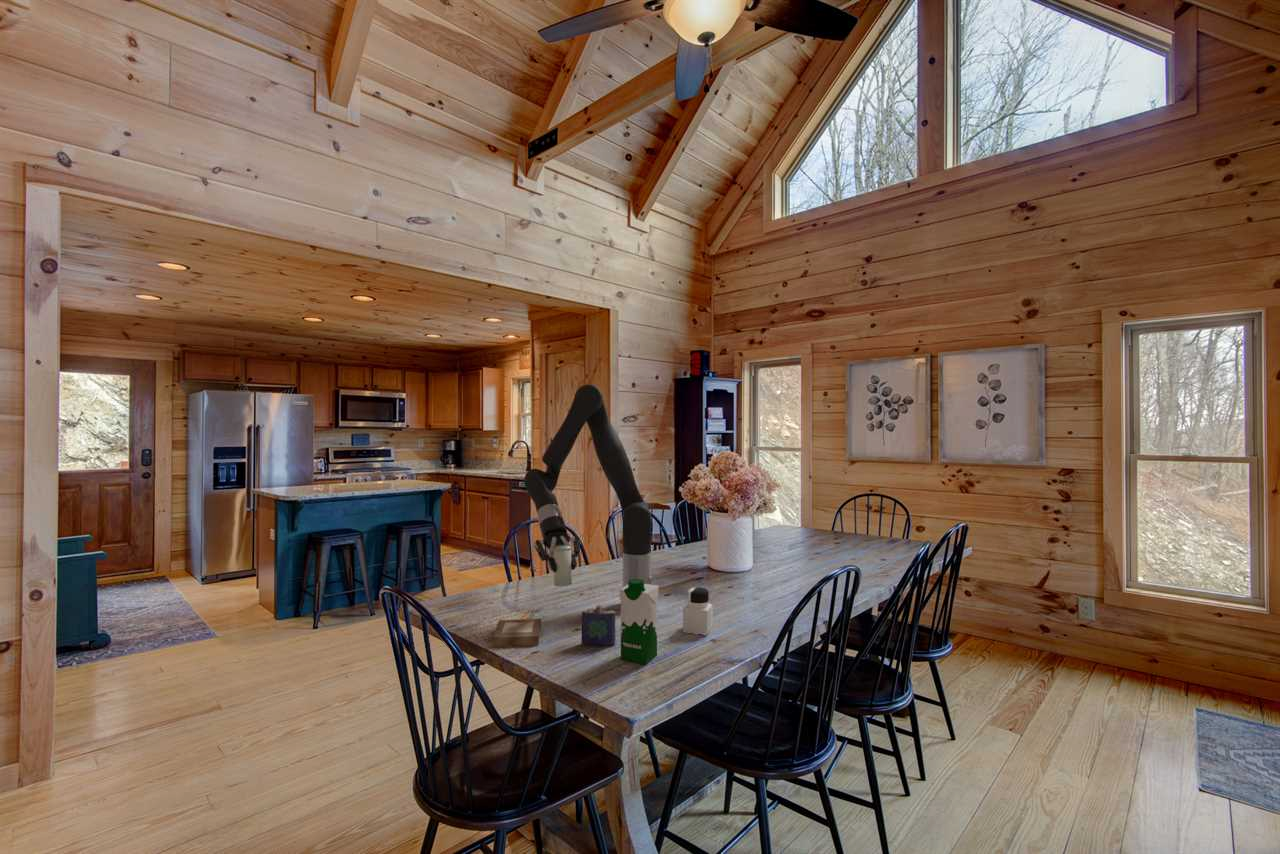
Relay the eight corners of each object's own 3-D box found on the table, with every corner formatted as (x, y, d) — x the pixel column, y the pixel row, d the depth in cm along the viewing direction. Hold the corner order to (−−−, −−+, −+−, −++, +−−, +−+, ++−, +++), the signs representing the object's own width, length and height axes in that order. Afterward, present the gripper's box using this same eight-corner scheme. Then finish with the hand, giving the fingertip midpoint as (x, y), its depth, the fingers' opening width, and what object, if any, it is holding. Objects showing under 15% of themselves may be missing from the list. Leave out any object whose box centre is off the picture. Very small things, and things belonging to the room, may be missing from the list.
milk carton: (615, 661, 148) (616, 581, 148) (631, 648, 156) (631, 573, 156) (647, 667, 145) (648, 585, 144) (662, 654, 153) (662, 577, 153)
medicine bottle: (712, 627, 173) (712, 586, 173) (707, 636, 166) (707, 593, 166) (688, 625, 175) (689, 584, 175) (682, 633, 168) (682, 591, 168)
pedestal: (541, 627, 172) (541, 618, 172) (538, 645, 158) (538, 635, 158) (499, 628, 171) (499, 619, 171) (492, 646, 157) (492, 637, 157)
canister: (572, 581, 177) (571, 544, 177) (572, 586, 172) (571, 548, 172) (553, 581, 176) (553, 545, 176) (553, 586, 171) (552, 549, 171)
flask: (615, 643, 161) (616, 603, 160) (615, 647, 158) (615, 607, 157) (582, 642, 161) (582, 603, 161) (580, 646, 158) (580, 606, 158)
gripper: (531, 516, 177) (543, 565, 167) (576, 513, 184) (590, 559, 173) (526, 531, 182) (538, 579, 172) (570, 527, 189) (584, 573, 178)
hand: (564, 569), depth 172 cm, fingers closed on canister, 5 cm apart
